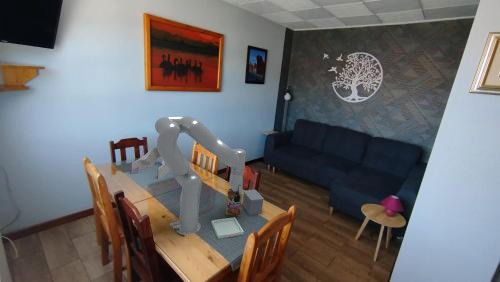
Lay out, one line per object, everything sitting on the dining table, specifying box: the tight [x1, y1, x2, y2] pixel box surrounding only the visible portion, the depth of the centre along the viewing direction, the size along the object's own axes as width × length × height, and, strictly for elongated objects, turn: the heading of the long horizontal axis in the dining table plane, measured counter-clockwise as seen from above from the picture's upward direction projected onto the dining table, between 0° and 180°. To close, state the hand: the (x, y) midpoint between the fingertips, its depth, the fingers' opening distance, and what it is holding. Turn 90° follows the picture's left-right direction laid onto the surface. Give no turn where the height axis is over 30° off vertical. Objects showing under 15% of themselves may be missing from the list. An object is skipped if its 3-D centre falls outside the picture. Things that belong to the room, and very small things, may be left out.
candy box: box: [225, 188, 244, 217], centre depth 135 cm, size 9×4×15 cm, turn 84°
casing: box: [131, 145, 170, 180], centre depth 184 cm, size 28×23×20 cm
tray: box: [211, 216, 245, 240], centre depth 122 cm, size 14×14×2 cm
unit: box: [242, 189, 265, 216], centre depth 143 cm, size 9×13×11 cm
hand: (234, 198), depth 135 cm, fingers closed on candy box, 6 cm apart
